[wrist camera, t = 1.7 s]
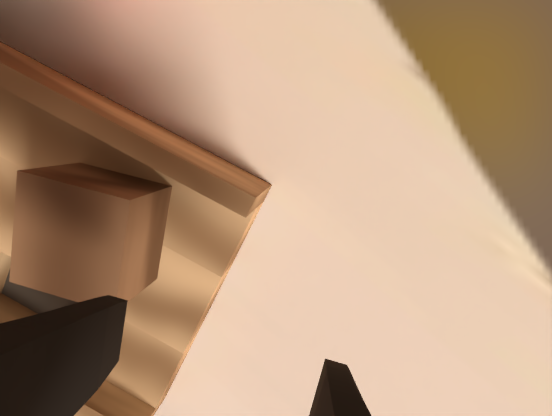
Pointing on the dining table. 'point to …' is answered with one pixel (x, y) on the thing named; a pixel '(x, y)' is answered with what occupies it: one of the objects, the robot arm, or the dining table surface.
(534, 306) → the dining table surface
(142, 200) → the block
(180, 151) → the trap box
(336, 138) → the dining table surface
